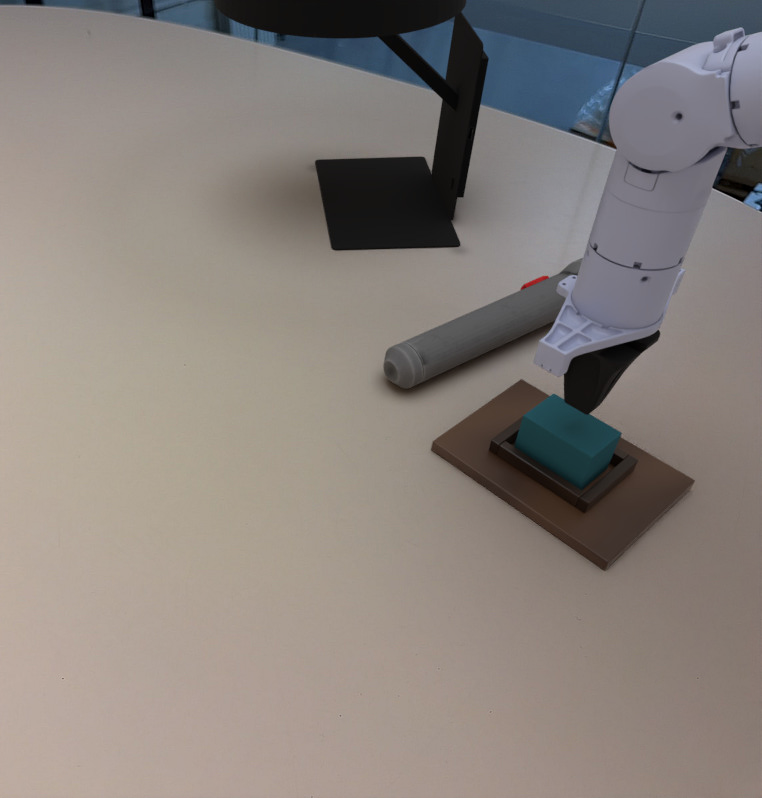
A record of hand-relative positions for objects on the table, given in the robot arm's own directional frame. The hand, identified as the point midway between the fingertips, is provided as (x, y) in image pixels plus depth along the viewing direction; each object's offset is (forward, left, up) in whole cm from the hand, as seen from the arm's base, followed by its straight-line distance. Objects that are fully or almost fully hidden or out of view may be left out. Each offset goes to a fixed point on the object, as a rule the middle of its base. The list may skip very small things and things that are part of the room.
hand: (580, 404), depth 61 cm
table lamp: (+43, -18, -7) cm, 47 cm away
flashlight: (+13, -11, -7) cm, 19 cm away
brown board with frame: (0, 0, -7) cm, 7 cm away
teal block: (0, 0, -6) cm, 6 cm away
